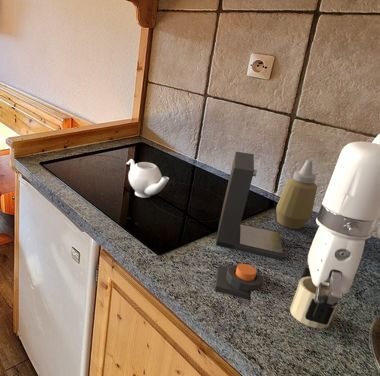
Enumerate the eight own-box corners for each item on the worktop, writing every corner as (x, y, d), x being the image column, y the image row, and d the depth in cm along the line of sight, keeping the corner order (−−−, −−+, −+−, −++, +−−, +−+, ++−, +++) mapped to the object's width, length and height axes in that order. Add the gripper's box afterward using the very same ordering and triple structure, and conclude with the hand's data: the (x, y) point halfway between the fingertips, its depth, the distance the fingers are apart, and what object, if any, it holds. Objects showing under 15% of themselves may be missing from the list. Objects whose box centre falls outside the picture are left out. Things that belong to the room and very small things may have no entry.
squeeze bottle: (313, 227, 106) (335, 163, 98) (295, 234, 102) (317, 168, 94) (283, 214, 112) (302, 152, 104) (265, 220, 108) (284, 157, 100)
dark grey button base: (268, 282, 84) (272, 270, 83) (269, 305, 78) (274, 293, 76) (217, 269, 88) (220, 257, 87) (214, 290, 81) (217, 278, 80)
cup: (324, 317, 75) (338, 282, 72) (329, 340, 70) (344, 303, 67) (286, 307, 77) (298, 272, 74) (289, 328, 72) (302, 292, 69)
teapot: (137, 179, 131) (141, 152, 127) (176, 206, 114) (182, 176, 111) (111, 183, 128) (114, 155, 124) (148, 211, 111) (152, 181, 107)
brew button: (254, 273, 82) (256, 266, 82) (254, 283, 80) (256, 276, 79) (235, 268, 84) (237, 261, 83) (235, 278, 81) (236, 271, 80)
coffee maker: (278, 235, 101) (301, 161, 93) (281, 260, 91) (307, 180, 83) (218, 222, 107) (235, 151, 98) (215, 245, 97) (233, 167, 88)
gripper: (389, 253, 56) (346, 344, 63) (361, 203, 70) (328, 282, 78) (327, 239, 59) (292, 328, 66) (312, 193, 73) (284, 271, 80)
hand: (311, 303), depth 72 cm, fingers open, 9 cm apart
